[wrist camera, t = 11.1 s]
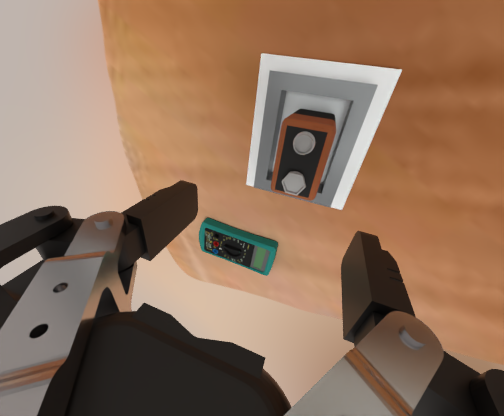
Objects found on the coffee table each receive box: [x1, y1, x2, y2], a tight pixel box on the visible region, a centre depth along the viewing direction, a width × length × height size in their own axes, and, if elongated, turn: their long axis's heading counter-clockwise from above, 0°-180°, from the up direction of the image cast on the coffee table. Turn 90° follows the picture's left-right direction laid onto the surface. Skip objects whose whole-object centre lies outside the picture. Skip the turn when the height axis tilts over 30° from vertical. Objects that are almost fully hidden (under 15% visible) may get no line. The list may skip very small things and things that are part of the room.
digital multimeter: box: [199, 218, 278, 276], centre depth 38 cm, size 7×15×3 cm, turn 81°
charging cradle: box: [246, 53, 402, 210], centre depth 24 cm, size 16×14×4 cm
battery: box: [271, 109, 336, 201], centre depth 21 cm, size 4×7×10 cm, turn 173°
